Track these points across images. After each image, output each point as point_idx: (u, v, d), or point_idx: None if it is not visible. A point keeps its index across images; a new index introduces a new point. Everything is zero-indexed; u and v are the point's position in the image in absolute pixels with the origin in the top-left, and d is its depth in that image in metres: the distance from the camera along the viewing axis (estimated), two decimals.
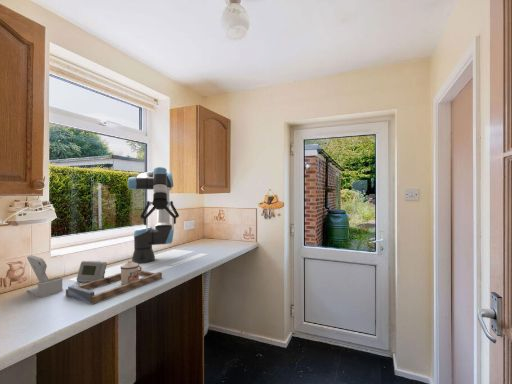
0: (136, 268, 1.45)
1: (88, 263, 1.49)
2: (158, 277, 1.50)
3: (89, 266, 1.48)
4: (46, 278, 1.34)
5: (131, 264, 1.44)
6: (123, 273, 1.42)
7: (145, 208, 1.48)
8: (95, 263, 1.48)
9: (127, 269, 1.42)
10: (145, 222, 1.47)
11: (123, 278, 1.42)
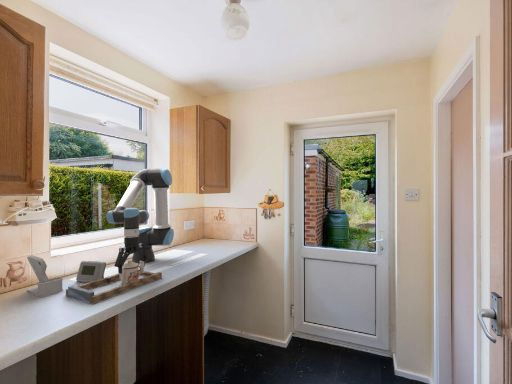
0: (136, 268, 1.45)
1: (87, 263, 1.48)
2: (158, 277, 1.50)
3: (88, 266, 1.48)
4: (46, 278, 1.34)
5: (131, 264, 1.44)
6: None
7: (121, 256, 1.40)
8: (95, 263, 1.48)
9: (127, 269, 1.42)
10: (121, 271, 1.41)
11: None
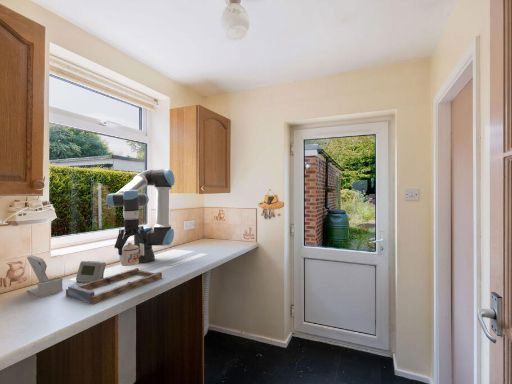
0: (136, 250, 1.45)
1: (87, 263, 1.48)
2: (158, 277, 1.50)
3: (88, 266, 1.48)
4: (46, 278, 1.34)
5: (131, 246, 1.45)
6: None
7: (121, 238, 1.40)
8: (95, 263, 1.48)
9: (127, 251, 1.42)
10: (121, 252, 1.41)
11: None
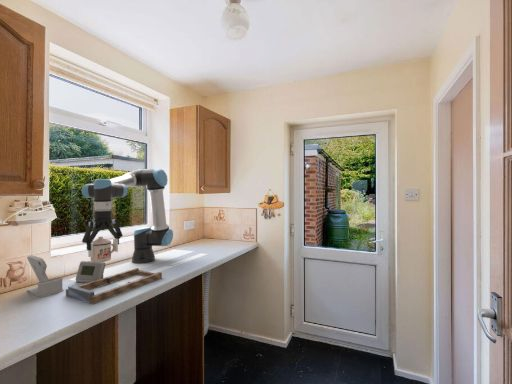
0: (107, 245, 1.31)
1: (87, 263, 1.48)
2: (158, 277, 1.50)
3: (87, 266, 1.48)
4: (46, 278, 1.34)
5: (102, 240, 1.30)
6: None
7: (89, 231, 1.26)
8: (94, 263, 1.48)
9: (97, 246, 1.28)
10: (90, 248, 1.27)
11: None
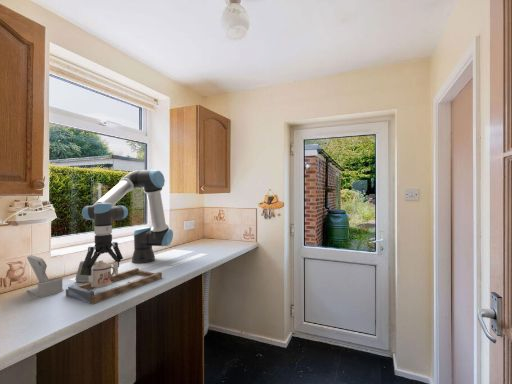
0: (108, 269, 1.31)
1: None
2: (158, 277, 1.50)
3: None
4: (46, 278, 1.34)
5: (102, 265, 1.30)
6: None
7: (89, 256, 1.26)
8: (94, 263, 1.48)
9: (97, 270, 1.28)
10: (90, 273, 1.27)
11: None
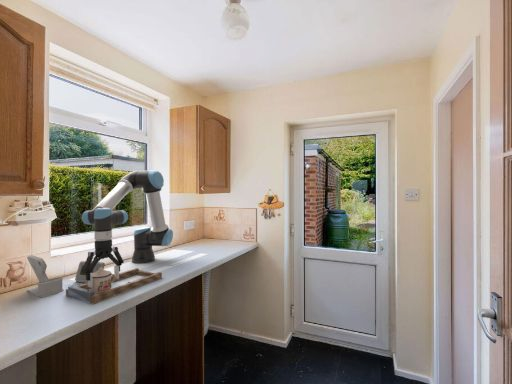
0: (108, 277, 1.31)
1: None
2: (158, 277, 1.50)
3: None
4: (46, 278, 1.34)
5: (102, 272, 1.30)
6: (93, 282, 1.28)
7: (89, 261, 1.26)
8: None
9: (97, 278, 1.28)
10: (89, 278, 1.26)
11: (93, 288, 1.28)
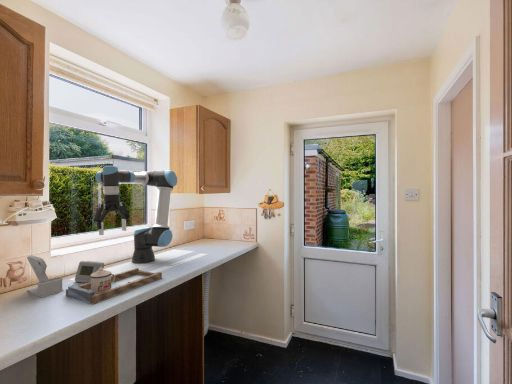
0: (108, 277, 1.31)
1: (86, 263, 1.48)
2: (158, 277, 1.50)
3: (86, 266, 1.48)
4: (46, 278, 1.34)
5: (102, 272, 1.30)
6: (93, 282, 1.28)
7: (100, 212, 1.41)
8: (93, 264, 1.47)
9: (97, 278, 1.28)
10: (100, 226, 1.41)
11: (93, 288, 1.28)
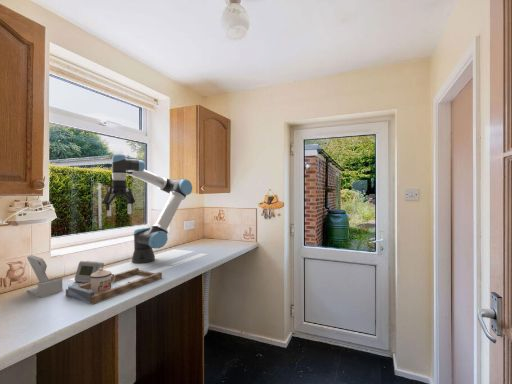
0: (108, 277, 1.31)
1: (85, 264, 1.48)
2: (158, 277, 1.50)
3: (86, 266, 1.47)
4: (46, 278, 1.34)
5: (102, 272, 1.30)
6: (93, 282, 1.28)
7: (108, 195, 1.57)
8: (93, 264, 1.47)
9: (97, 278, 1.28)
10: (108, 208, 1.57)
11: (93, 288, 1.28)
